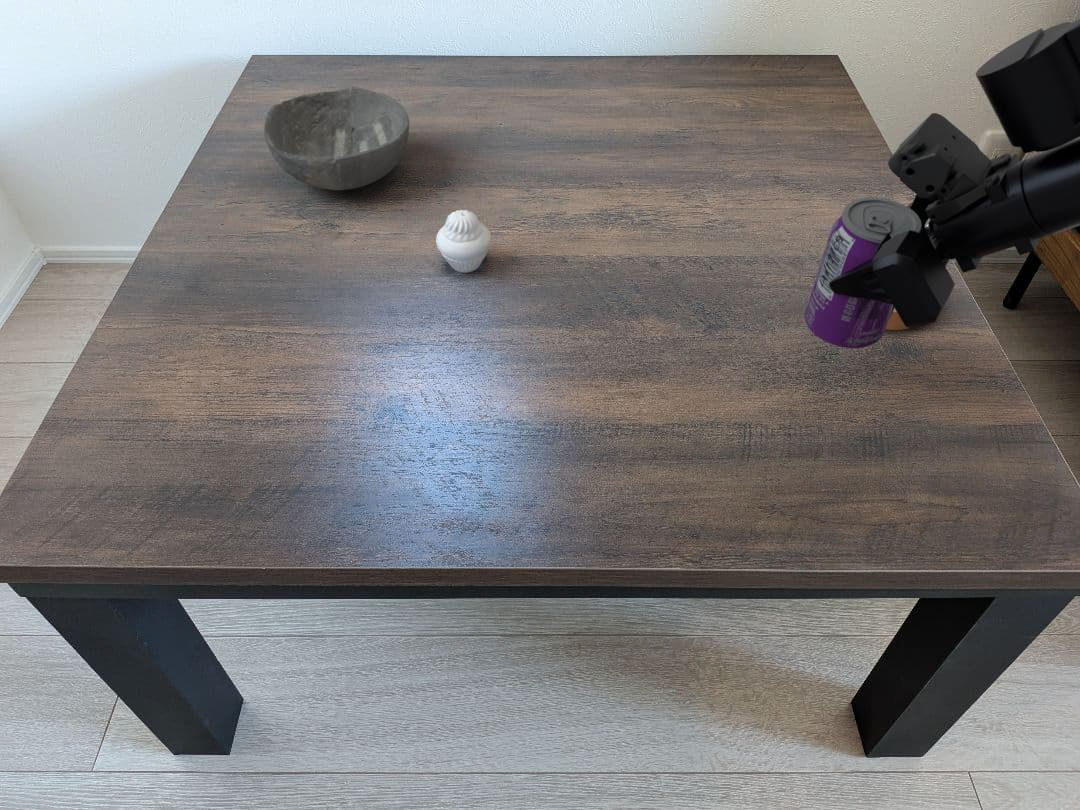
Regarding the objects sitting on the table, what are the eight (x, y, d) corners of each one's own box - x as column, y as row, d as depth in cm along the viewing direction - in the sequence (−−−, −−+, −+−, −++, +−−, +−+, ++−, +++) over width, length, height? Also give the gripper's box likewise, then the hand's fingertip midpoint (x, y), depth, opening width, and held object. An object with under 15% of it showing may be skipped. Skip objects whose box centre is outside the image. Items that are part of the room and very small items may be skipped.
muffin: (435, 252, 91) (428, 200, 86) (486, 244, 92) (483, 192, 87) (444, 285, 87) (437, 233, 82) (497, 276, 88) (495, 224, 83)
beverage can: (873, 364, 70) (920, 253, 61) (794, 340, 72) (828, 230, 63) (888, 316, 74) (934, 206, 65) (812, 295, 76) (847, 186, 67)
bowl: (419, 208, 97) (411, 149, 91) (273, 221, 95) (255, 162, 89) (412, 134, 109) (404, 78, 103) (282, 145, 107) (267, 88, 101)
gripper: (1022, 49, 59) (840, 141, 72) (950, 157, 49) (753, 243, 61) (1084, 174, 62) (898, 242, 74) (1027, 301, 52) (823, 355, 64)
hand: (846, 266), depth 68 cm, fingers closed on beverage can, 7 cm apart
